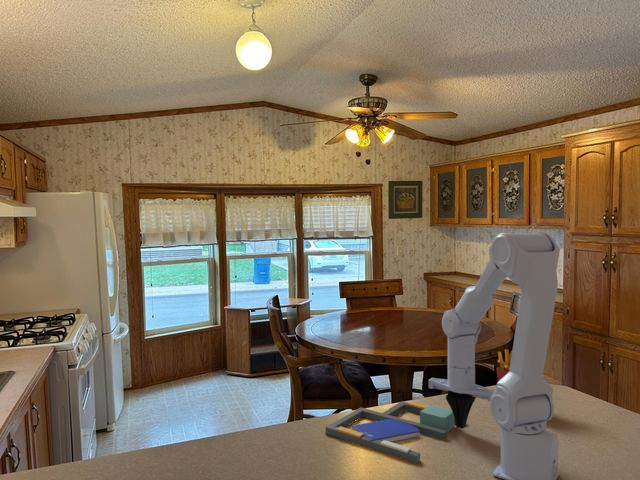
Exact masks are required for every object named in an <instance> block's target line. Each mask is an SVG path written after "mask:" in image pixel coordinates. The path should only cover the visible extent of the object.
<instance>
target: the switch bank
mask: <svg viewBox="0 0 640 480" xmlns="http://www.w3.org/2000/svg"><path fill="white" fill-rule="evenodd" d="M428 406H429V405H426V404H423V403H422V404H421V403H418V402H413V401H409V402H407V401H403V400H401V401H400V402H398V403H396V404H394V405H393V406H390V408H388V409H387V410H385V411H383V412H382V413H383V414H387V415H391V416H394V417H397V416H398V415H399V414H401V413H402V412H405V411H406V412H409V413H413V414H417V415H420V411H422V410H423V409H425V408H426V407H428ZM454 425H456V422H455V418H454Z"/></svg>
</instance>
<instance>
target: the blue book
mask: <svg viewBox="0 0 640 480" xmlns="http://www.w3.org/2000/svg"><path fill="white" fill-rule="evenodd" d="M350 428H351V430H354V431H357V432H360V433H364V435H363V436H365V437H366V438H367V439H368V440H370V441H374V440H380V441H384V440H386V441H389V442H397V441H401V440H406V439H413V438H416V437H420V436H421V434H420V430H419V429H417V428H416V427H414V426H412V425H410V424H407V423H403V422H400V421H396V420H393V419H387V420H382V421H371V422H365V423H359V424H355V425H354V424H353V425H352V424H351V427H350Z"/></svg>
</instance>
